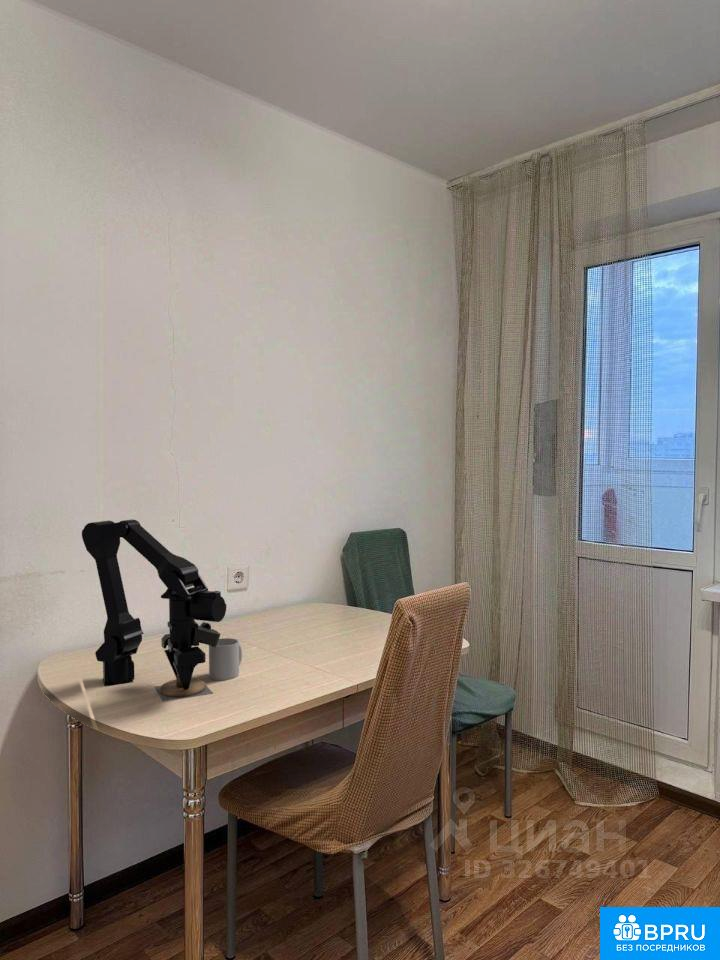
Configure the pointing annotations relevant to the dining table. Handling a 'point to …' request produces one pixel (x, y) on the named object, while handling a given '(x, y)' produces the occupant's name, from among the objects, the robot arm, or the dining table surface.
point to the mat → (165, 698)
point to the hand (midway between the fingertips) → (183, 685)
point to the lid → (177, 690)
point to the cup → (225, 659)
